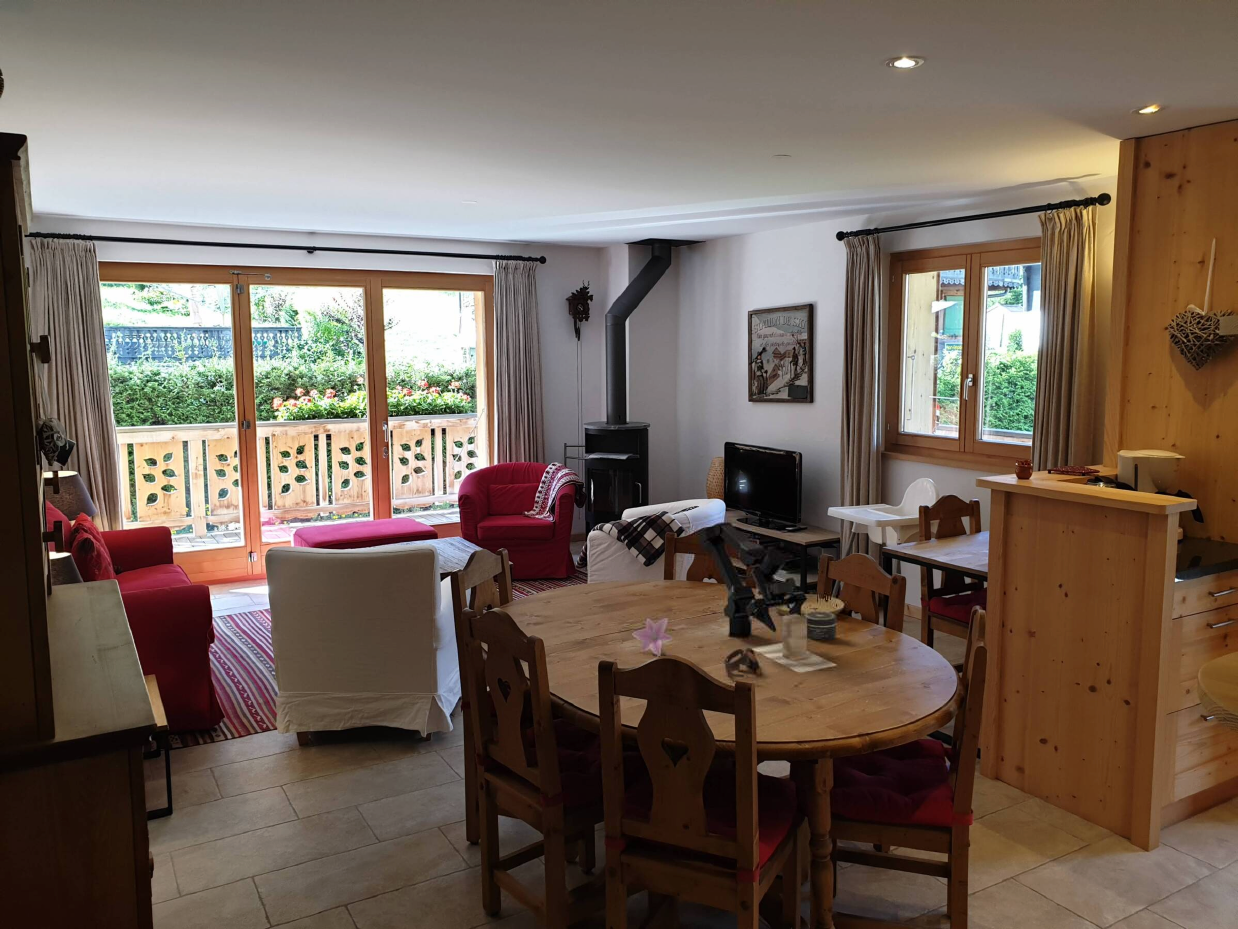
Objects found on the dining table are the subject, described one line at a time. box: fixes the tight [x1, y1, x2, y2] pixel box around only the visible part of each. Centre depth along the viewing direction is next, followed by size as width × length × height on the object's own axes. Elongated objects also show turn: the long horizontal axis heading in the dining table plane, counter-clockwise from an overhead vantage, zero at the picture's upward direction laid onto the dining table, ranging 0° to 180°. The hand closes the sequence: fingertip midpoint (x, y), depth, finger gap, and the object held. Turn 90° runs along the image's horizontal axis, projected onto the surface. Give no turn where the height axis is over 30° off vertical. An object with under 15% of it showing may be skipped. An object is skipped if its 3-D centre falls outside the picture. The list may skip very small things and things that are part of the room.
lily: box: [631, 617, 674, 657], centre depth 274 cm, size 12×12×10 cm
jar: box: [804, 611, 837, 641], centre depth 282 cm, size 10×10×8 cm
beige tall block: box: [781, 614, 808, 661], centre depth 262 cm, size 5×5×12 cm
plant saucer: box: [774, 594, 845, 617], centre depth 312 cm, size 24×24×3 cm
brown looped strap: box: [723, 647, 762, 676], centre depth 254 cm, size 12×10×8 cm
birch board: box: [750, 642, 837, 674], centre depth 264 cm, size 24×13×1 cm, turn 26°
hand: (788, 629), depth 265 cm, fingers open, 9 cm apart
